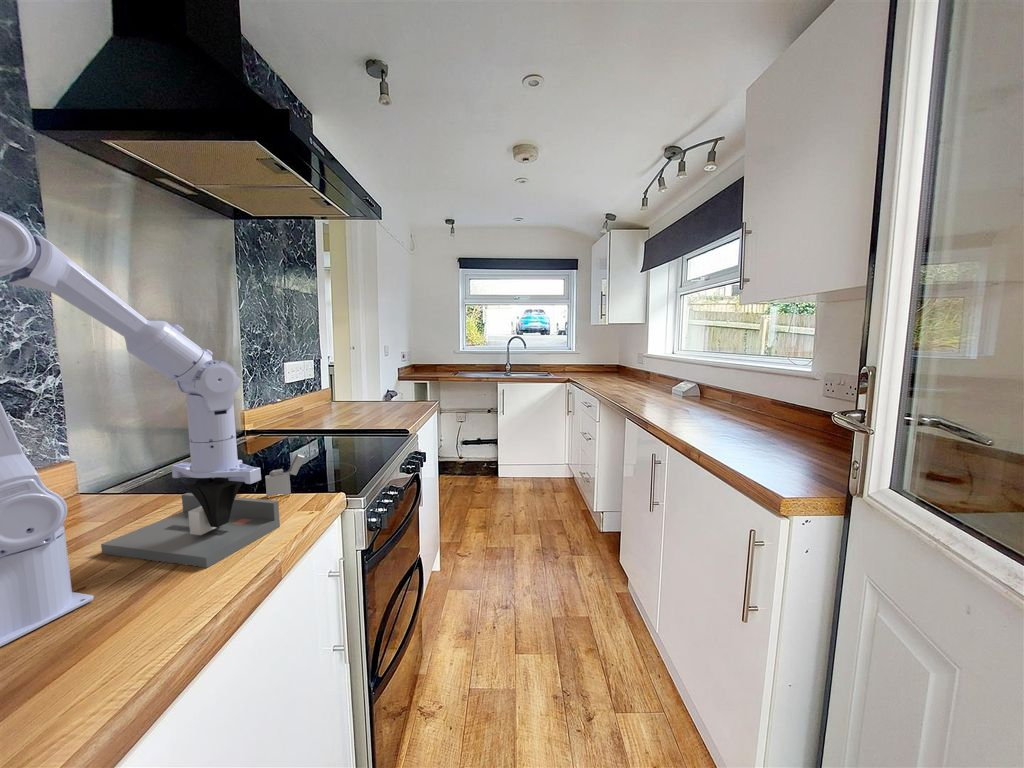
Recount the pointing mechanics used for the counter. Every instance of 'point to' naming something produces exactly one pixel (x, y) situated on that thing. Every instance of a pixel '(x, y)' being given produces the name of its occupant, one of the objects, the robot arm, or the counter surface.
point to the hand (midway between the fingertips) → (220, 524)
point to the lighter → (282, 478)
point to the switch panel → (179, 546)
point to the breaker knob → (199, 522)
